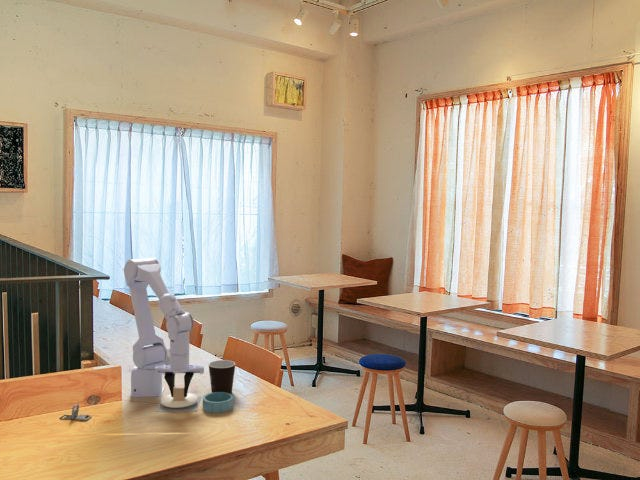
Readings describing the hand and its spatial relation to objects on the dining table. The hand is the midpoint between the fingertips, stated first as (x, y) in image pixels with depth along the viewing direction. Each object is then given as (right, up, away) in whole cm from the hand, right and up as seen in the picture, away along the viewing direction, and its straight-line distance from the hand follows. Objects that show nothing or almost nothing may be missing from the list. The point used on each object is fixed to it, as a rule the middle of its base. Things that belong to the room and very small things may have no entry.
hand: (179, 396), depth 171 cm
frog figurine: (-12, 0, +37) cm, 39 cm away
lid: (0, -2, 0) cm, 2 cm away
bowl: (+12, -3, -2) cm, 13 cm away
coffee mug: (+11, -2, +12) cm, 17 cm away
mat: (0, -3, 0) cm, 3 cm away
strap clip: (-27, -4, -11) cm, 30 cm away
